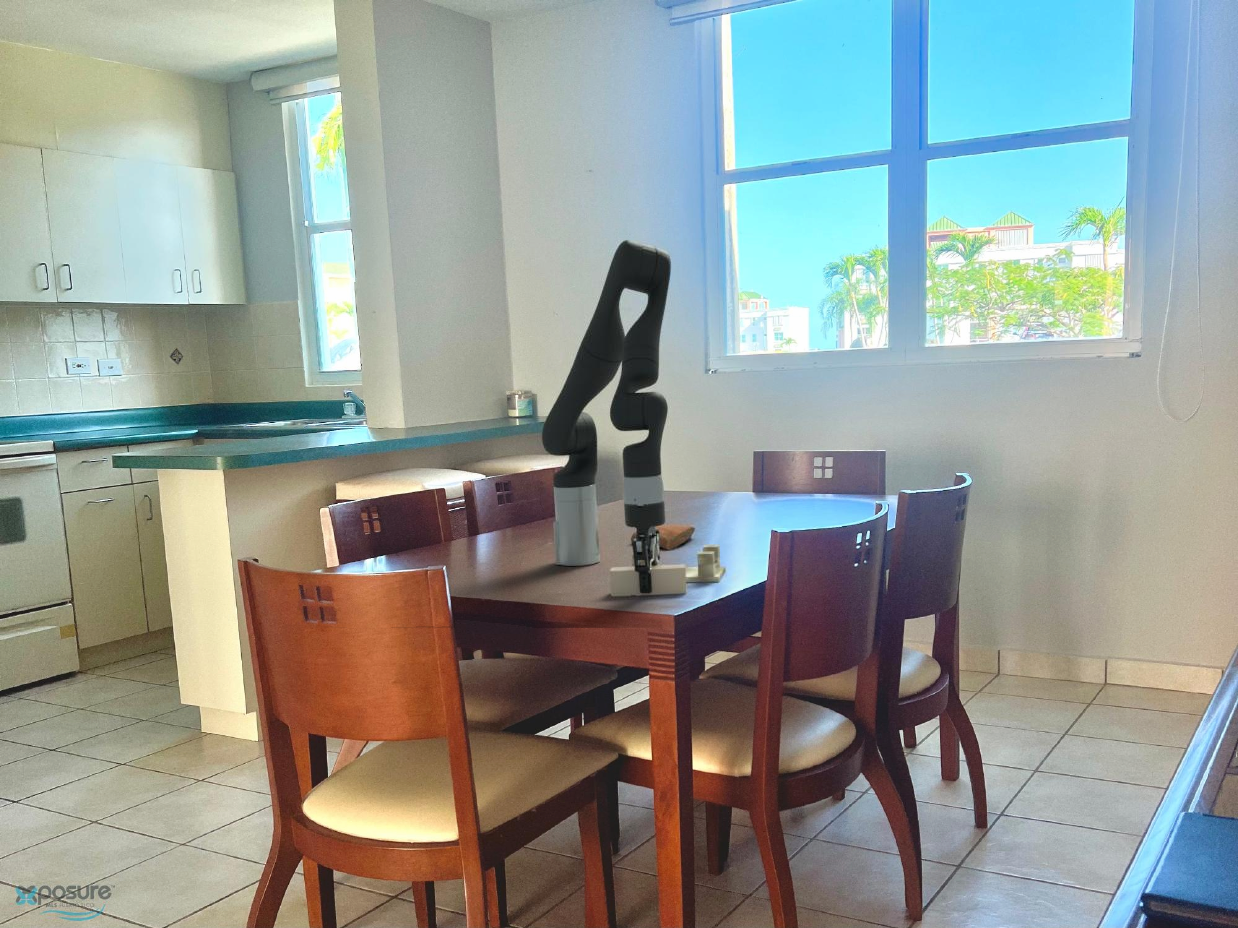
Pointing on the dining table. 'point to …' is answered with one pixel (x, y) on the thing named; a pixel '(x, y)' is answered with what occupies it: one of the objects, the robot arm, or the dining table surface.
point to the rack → (704, 566)
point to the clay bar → (662, 576)
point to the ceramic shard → (672, 535)
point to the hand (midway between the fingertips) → (649, 589)
